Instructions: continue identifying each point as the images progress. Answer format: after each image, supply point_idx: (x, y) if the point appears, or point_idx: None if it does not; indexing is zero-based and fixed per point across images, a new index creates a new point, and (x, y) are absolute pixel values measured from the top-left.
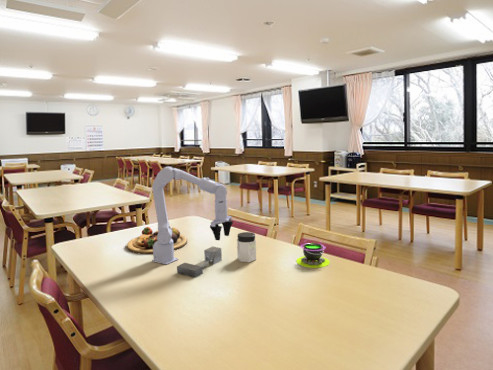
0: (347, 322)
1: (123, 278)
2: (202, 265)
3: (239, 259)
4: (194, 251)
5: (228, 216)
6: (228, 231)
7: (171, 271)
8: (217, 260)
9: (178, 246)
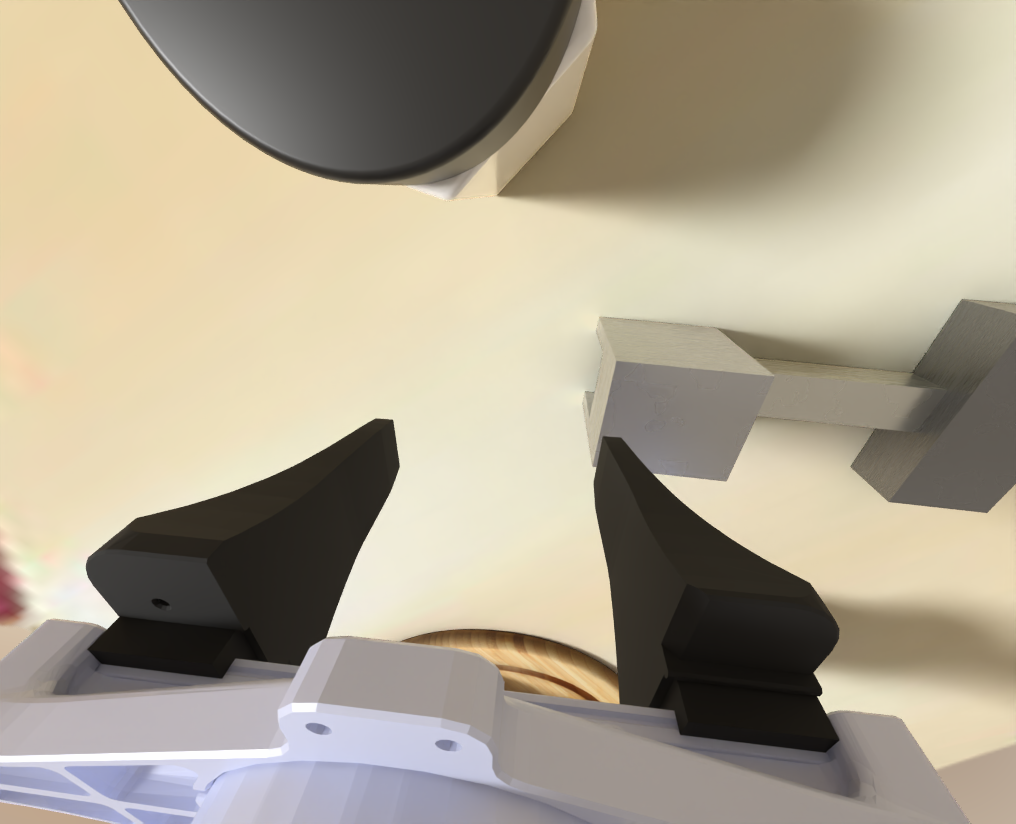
0: None
1: (1012, 651)
2: (842, 376)
3: (567, 116)
4: (504, 560)
5: (33, 785)
6: (360, 454)
7: (899, 517)
8: (666, 328)
9: (508, 648)
